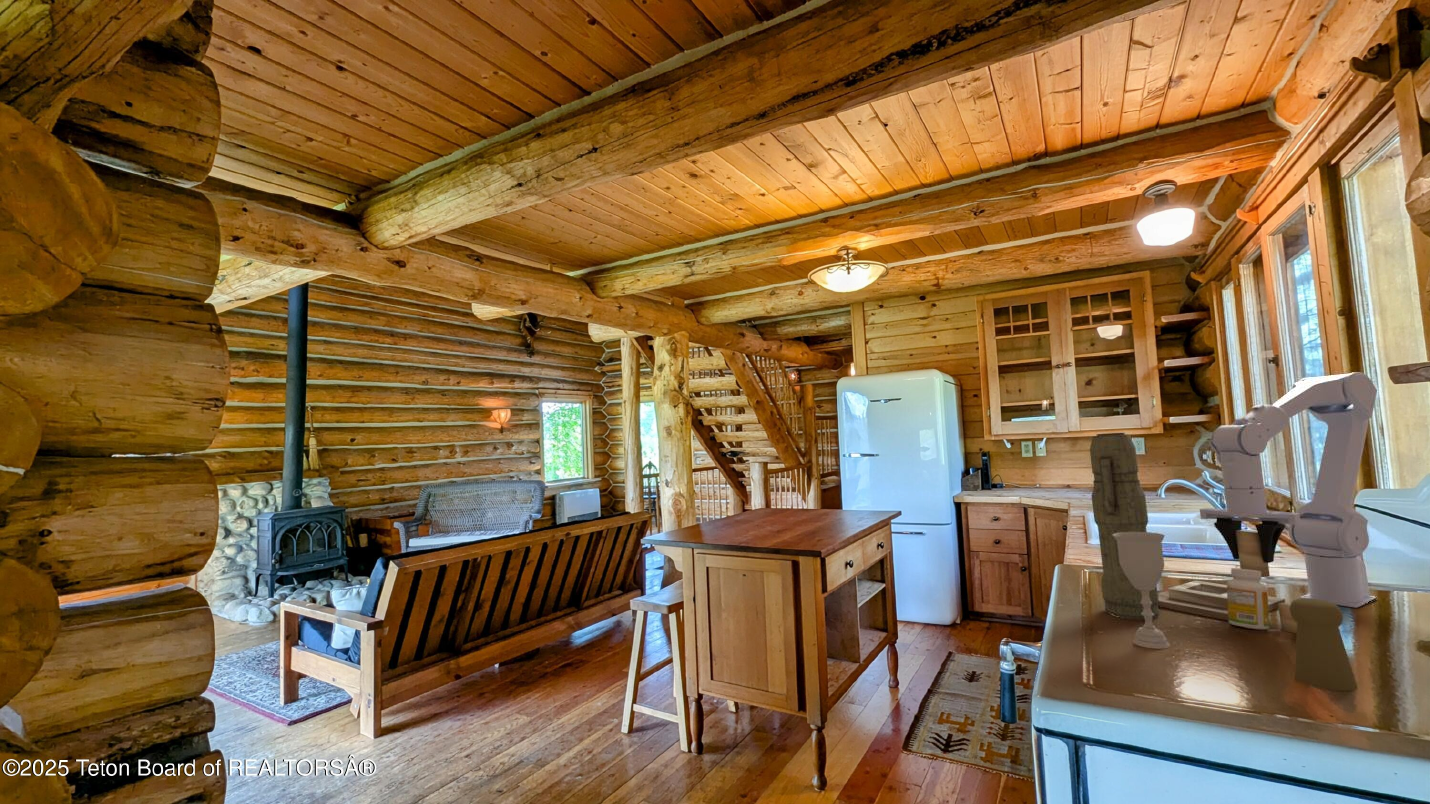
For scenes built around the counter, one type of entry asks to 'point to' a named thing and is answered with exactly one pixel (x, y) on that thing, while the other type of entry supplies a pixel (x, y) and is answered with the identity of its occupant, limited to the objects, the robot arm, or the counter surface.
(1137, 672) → the counter surface
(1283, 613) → the short oak dowel
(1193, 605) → the collar board
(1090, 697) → the counter surface
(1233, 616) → the supplement bottle
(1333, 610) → the olive tapered capped post
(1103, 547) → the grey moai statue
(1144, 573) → the chalice
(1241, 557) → the long oak dowel
